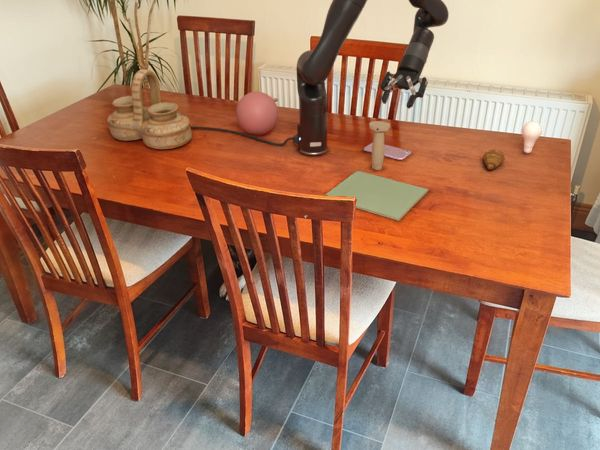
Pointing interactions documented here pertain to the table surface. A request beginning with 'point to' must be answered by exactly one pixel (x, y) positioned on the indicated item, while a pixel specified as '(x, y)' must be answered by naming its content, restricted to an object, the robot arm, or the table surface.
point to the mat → (379, 194)
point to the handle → (378, 142)
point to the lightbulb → (530, 135)
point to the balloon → (257, 113)
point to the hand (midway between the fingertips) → (395, 105)
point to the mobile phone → (391, 151)
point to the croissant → (493, 159)
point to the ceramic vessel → (149, 117)
